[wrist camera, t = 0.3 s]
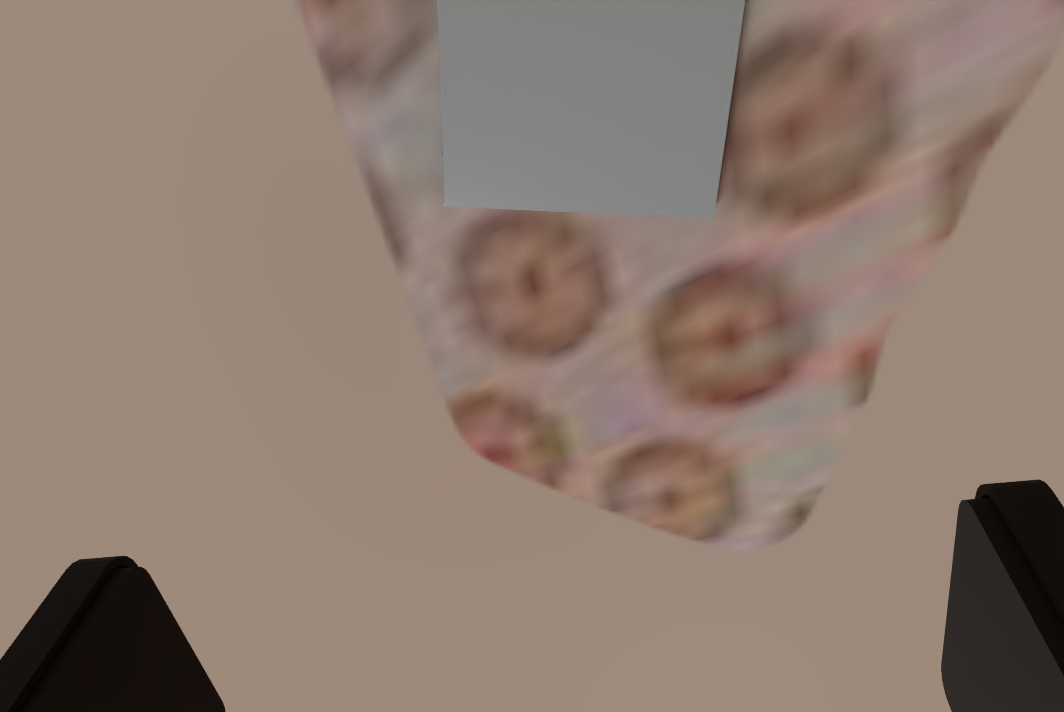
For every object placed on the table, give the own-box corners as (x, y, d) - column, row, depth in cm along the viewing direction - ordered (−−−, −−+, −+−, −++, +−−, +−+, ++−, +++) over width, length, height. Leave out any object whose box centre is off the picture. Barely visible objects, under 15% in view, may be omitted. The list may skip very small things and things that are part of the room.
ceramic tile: (436, -98, 32) (433, -96, 31) (754, -89, 32) (757, -87, 31) (447, 199, 39) (444, 206, 38) (711, 211, 38) (713, 218, 37)
